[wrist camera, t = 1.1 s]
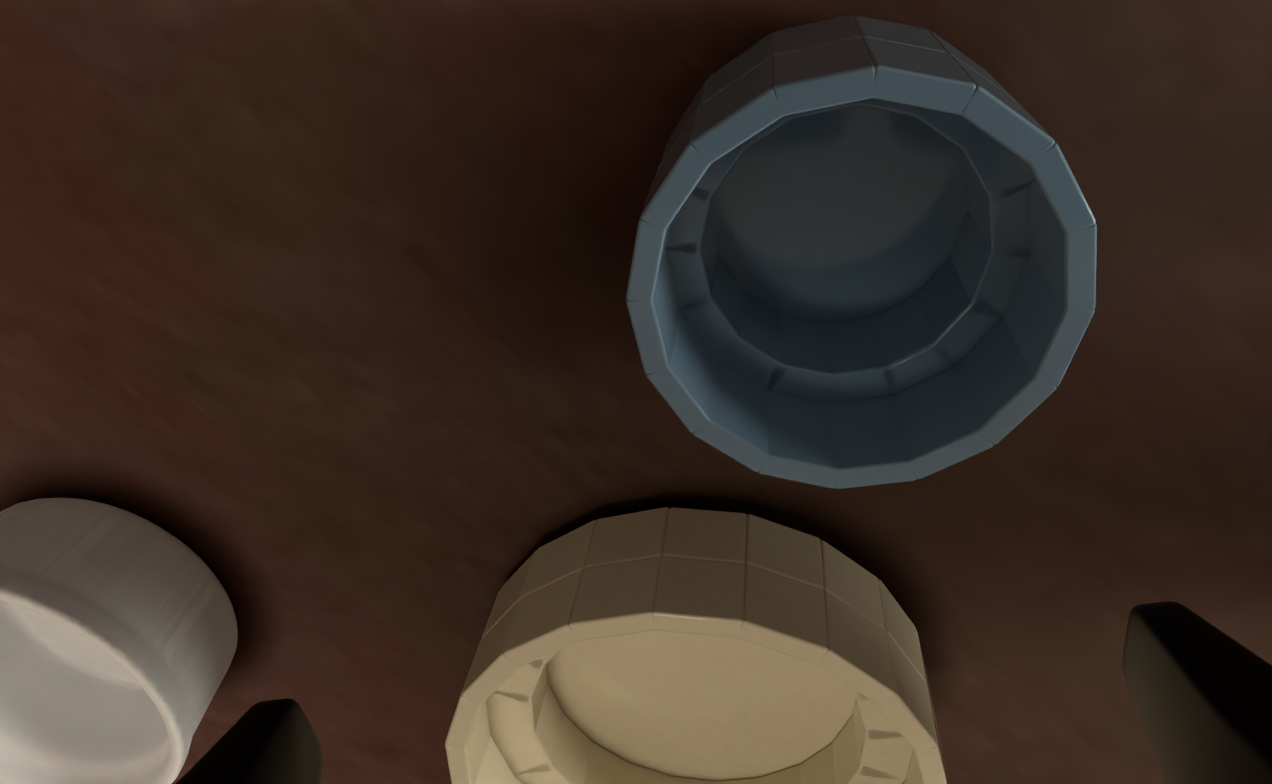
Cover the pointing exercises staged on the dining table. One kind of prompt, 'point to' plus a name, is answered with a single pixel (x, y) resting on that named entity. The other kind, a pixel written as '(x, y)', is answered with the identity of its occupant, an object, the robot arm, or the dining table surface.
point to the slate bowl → (859, 258)
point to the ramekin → (103, 645)
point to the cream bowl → (695, 663)
